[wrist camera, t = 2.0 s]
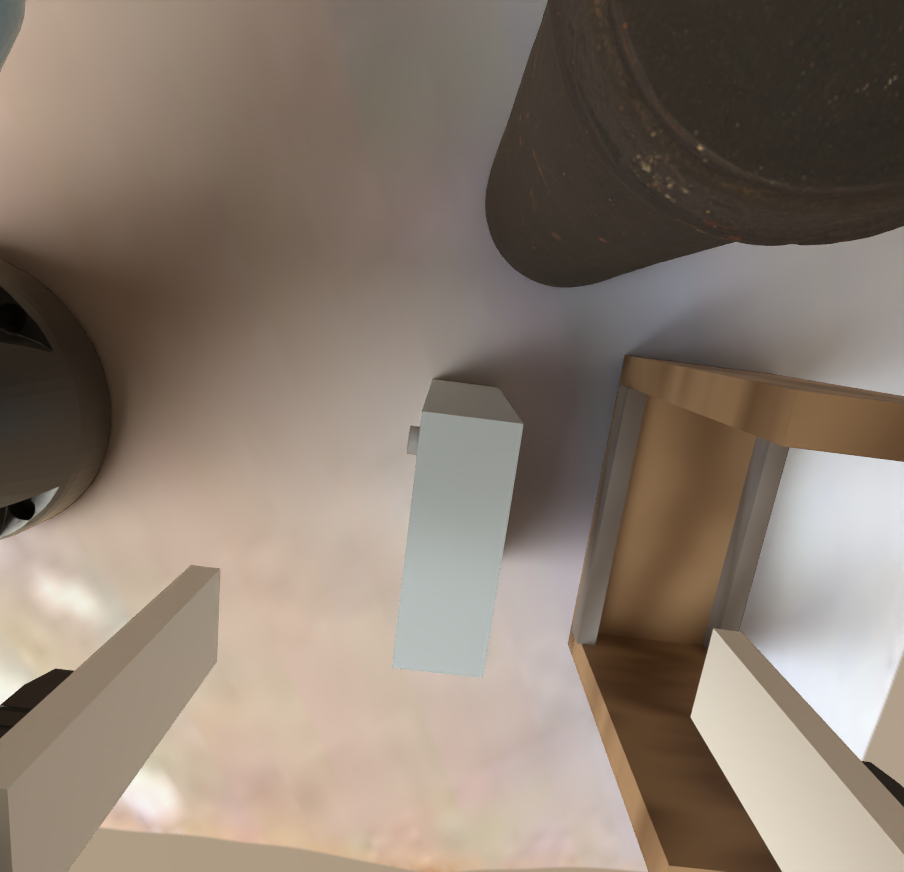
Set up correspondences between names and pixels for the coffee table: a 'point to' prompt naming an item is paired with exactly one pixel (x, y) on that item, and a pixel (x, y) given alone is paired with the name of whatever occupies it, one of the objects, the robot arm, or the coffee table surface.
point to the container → (698, 132)
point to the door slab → (456, 527)
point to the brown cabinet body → (692, 577)
